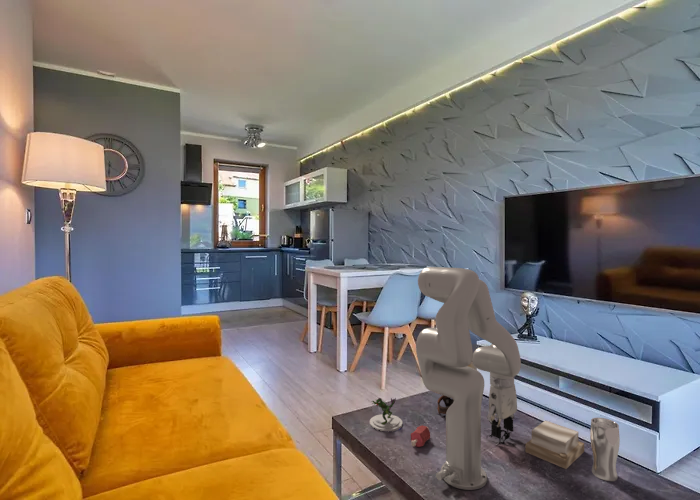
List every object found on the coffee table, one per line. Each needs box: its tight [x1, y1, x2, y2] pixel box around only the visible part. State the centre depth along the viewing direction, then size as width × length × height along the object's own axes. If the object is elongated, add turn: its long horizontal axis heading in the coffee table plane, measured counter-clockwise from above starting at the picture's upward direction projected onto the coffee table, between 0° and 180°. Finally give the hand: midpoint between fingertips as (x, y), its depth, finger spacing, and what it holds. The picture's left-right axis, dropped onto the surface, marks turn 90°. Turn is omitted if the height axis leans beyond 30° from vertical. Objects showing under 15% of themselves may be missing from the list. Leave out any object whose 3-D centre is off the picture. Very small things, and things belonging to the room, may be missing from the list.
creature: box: [485, 424, 512, 447], centre depth 128 cm, size 8×5×8 cm
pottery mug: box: [436, 395, 454, 415], centre depth 150 cm, size 12×10×8 cm
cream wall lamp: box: [524, 420, 585, 470], centre depth 121 cm, size 14×12×7 cm
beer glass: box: [589, 417, 621, 482], centre depth 109 cm, size 7×7×15 cm
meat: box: [410, 425, 431, 448], centre depth 128 cm, size 12×5×5 cm, turn 145°
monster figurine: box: [369, 397, 403, 433], centre depth 141 cm, size 12×12×10 cm
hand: (502, 432), depth 129 cm, fingers open, 6 cm apart
